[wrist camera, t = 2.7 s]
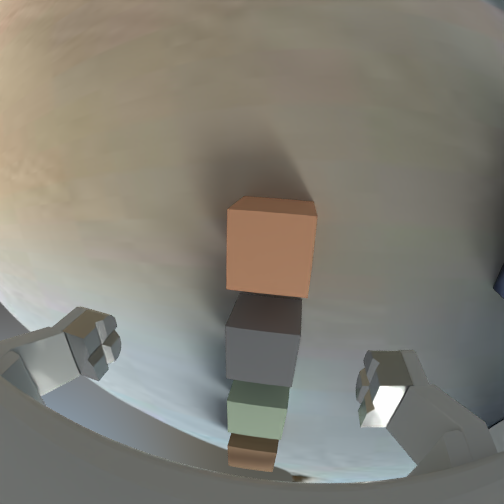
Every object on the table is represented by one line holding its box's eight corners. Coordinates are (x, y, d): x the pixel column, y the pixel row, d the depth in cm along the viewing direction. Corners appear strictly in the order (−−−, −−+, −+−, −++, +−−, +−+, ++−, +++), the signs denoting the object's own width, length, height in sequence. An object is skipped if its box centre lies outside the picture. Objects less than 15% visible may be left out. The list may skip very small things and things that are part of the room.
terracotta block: (307, 266, 22) (307, 297, 17) (242, 260, 22) (226, 289, 18) (313, 201, 20) (317, 216, 15) (244, 196, 21) (227, 209, 16)
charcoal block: (294, 347, 24) (291, 387, 20) (239, 340, 25) (226, 378, 20) (302, 299, 23) (300, 335, 18) (240, 292, 23) (225, 326, 19)
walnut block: (277, 439, 30) (272, 472, 25) (237, 434, 30) (228, 465, 26) (281, 417, 28) (276, 453, 23) (237, 411, 29) (227, 445, 24)
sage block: (285, 402, 27) (280, 439, 22) (238, 396, 28) (227, 432, 23) (291, 369, 25) (287, 409, 21) (238, 363, 26) (226, 400, 21)
